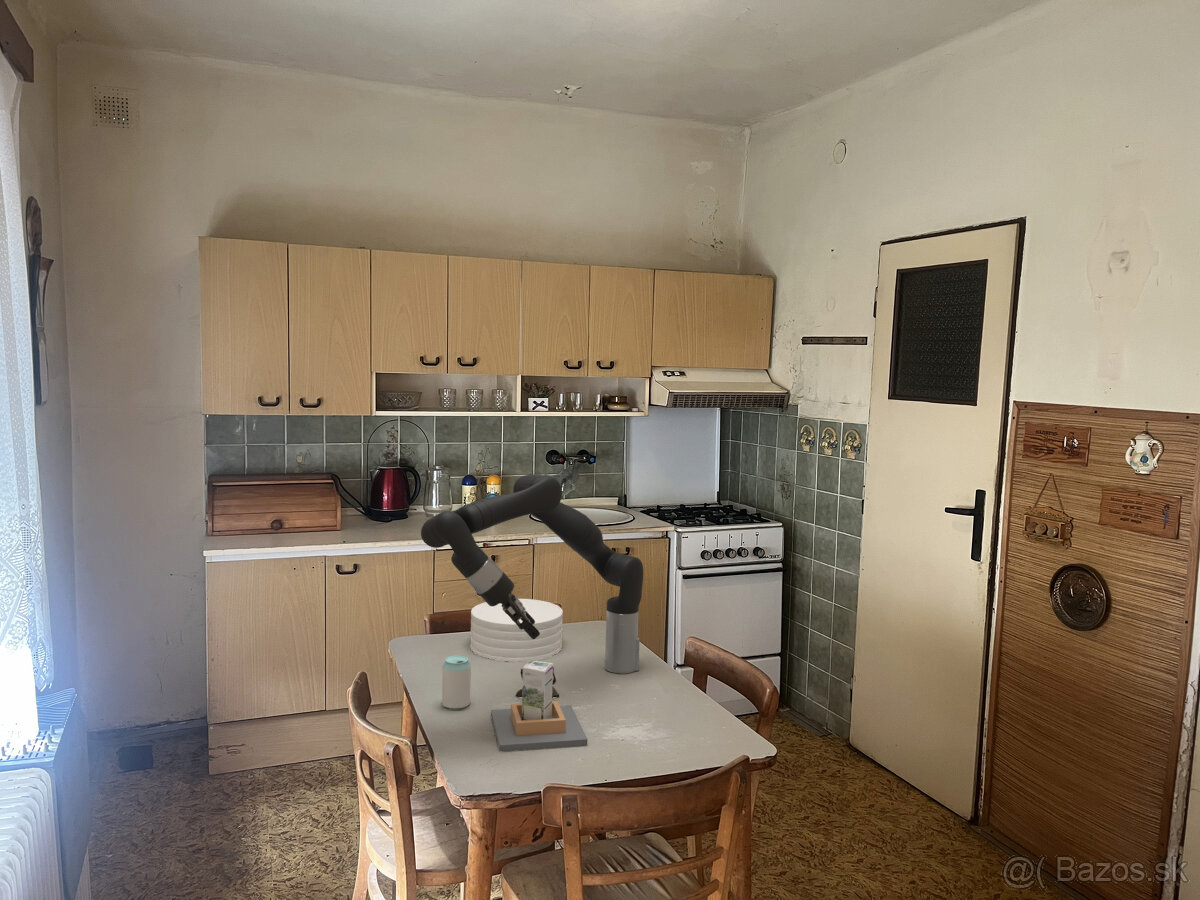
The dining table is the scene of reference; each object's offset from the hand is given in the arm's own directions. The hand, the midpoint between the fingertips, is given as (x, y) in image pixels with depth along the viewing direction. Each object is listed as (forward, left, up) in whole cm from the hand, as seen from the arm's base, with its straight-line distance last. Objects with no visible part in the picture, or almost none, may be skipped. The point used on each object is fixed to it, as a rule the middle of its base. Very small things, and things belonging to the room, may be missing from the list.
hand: (534, 630), depth 198 cm
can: (+17, -17, -24) cm, 34 cm away
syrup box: (-1, +1, -23) cm, 23 cm away
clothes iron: (-4, -21, -24) cm, 32 cm away
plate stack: (-4, -60, -24) cm, 65 cm away
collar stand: (-1, +1, -24) cm, 24 cm away
